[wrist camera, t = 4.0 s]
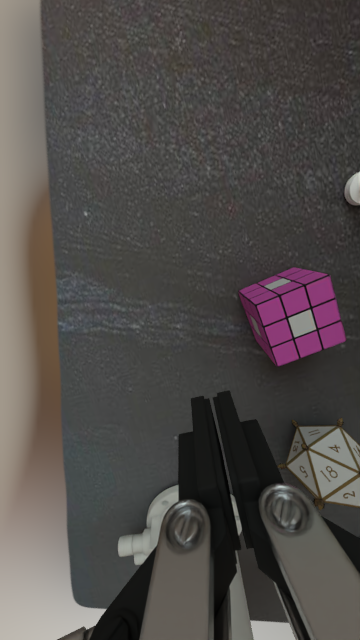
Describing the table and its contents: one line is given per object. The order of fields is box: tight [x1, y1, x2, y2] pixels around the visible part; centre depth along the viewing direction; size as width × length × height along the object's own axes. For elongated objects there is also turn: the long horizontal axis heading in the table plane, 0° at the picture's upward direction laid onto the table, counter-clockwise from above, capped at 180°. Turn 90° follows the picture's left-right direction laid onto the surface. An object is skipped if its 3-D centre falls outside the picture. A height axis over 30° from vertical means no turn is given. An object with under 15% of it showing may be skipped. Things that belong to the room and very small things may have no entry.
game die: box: [277, 418, 360, 510], centre depth 25 cm, size 9×8×10 cm
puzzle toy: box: [238, 267, 346, 367], centre depth 21 cm, size 6×6×6 cm
